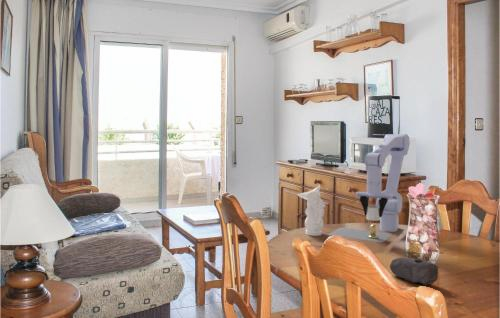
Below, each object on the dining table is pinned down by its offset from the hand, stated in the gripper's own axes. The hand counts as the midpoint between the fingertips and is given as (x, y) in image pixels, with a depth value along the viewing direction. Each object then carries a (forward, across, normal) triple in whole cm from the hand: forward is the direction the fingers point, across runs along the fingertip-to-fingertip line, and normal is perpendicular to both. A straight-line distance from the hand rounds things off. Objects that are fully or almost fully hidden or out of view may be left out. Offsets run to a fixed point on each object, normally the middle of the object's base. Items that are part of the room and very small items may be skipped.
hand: (373, 215), depth 177 cm
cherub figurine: (+11, -25, -6) cm, 28 cm away
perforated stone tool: (+11, +23, -40) cm, 47 cm away
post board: (+10, -6, +2) cm, 12 cm away
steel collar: (+1, 0, 0) cm, 1 cm away
